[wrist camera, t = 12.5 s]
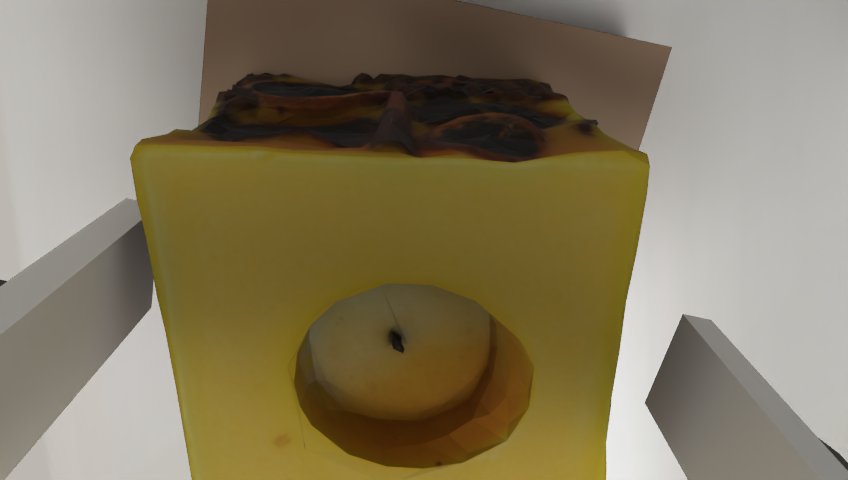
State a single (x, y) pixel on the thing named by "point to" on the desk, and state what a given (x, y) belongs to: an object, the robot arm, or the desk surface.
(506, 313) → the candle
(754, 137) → the desk surface
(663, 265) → the desk surface
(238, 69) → the walnut block
